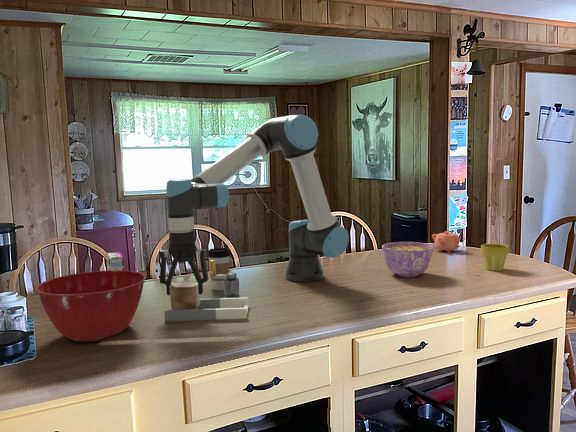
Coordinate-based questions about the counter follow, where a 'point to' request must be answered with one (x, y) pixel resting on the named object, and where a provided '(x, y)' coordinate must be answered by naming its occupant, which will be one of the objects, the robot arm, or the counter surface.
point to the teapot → (446, 241)
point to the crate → (183, 295)
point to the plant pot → (494, 256)
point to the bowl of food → (407, 257)
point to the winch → (231, 289)
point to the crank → (213, 273)
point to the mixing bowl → (92, 303)
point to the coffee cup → (219, 265)
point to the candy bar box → (115, 261)
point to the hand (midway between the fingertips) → (185, 304)
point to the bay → (212, 310)
